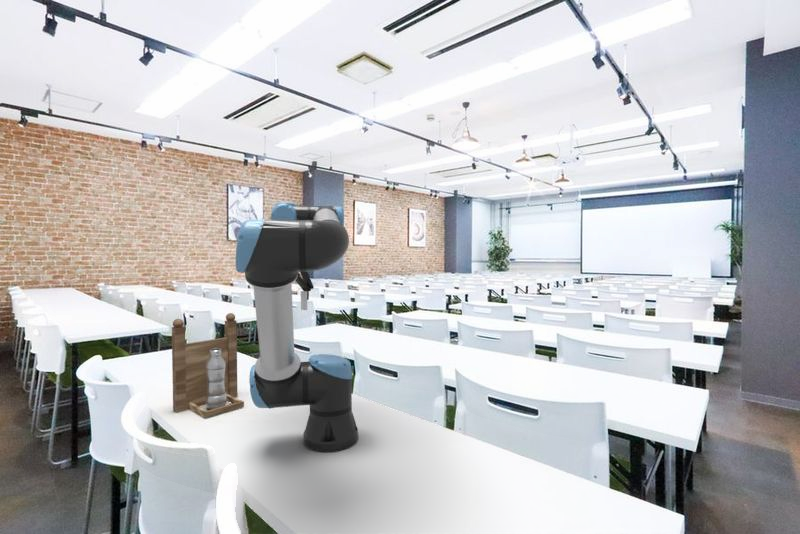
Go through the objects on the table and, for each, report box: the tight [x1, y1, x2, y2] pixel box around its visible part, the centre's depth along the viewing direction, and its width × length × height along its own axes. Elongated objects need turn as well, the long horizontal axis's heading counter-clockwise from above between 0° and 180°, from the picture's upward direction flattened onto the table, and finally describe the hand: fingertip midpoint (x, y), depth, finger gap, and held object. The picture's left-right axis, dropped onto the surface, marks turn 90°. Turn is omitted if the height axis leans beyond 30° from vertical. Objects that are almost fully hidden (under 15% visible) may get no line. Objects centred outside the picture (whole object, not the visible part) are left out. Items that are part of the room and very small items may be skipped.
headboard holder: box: [171, 312, 245, 419], centre depth 140 cm, size 15×21×31 cm
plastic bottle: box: [205, 348, 227, 410], centre depth 140 cm, size 6×7×20 cm
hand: (287, 312), depth 139 cm, fingers open, 13 cm apart
